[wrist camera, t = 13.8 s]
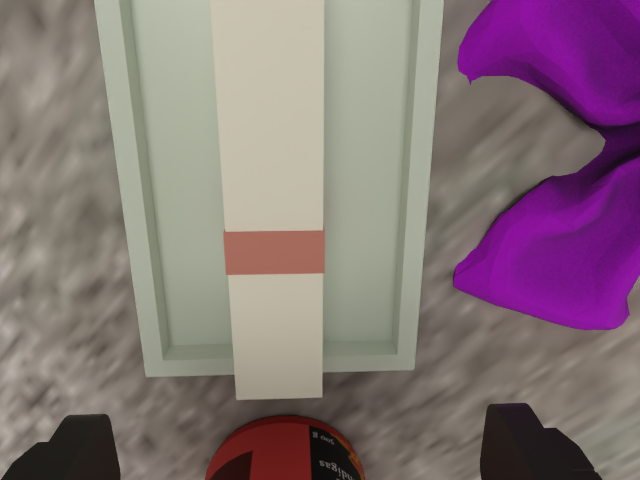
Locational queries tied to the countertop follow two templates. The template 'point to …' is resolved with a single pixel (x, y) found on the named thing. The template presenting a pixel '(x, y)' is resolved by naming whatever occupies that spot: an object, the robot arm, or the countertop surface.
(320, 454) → the canned food
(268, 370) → the pink-banded white block
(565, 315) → the cloth
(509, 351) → the countertop surface
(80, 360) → the countertop surface
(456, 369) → the countertop surface
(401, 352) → the tray
